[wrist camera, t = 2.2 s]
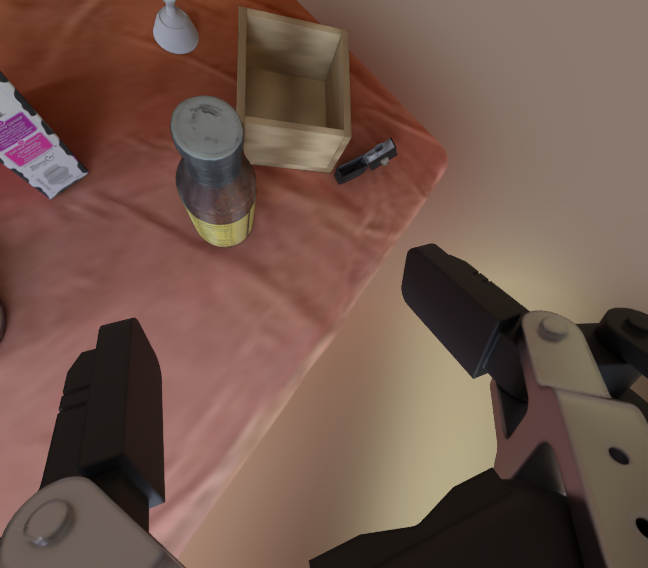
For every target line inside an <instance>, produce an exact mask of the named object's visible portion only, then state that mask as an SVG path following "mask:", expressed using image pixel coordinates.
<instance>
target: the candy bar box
mask: <svg viewBox="0 0 648 568" xmlns="http://www.w3.org/2000/svg"><path fill="white" fill-rule="evenodd" d="M0 162H1V163H2V164H4V165H5V166H6V167H8V168H9V169H10V170H12V171H13V172H14V173H16V174H17V175H18V176H20V177H21V178H22V179H24V180H25V181H26V182H28V183H29V184H30V185H32V186H33V187H34V188H36V189H37V190H39V191H40V192H41V193H43V194H44V195H45V196H46V197H48V198H49V199H52V198H54V197H55V196H57V195H58V194H60V193H61V192H63V191H64V190H65V189H66V188H68V187H70V186H71V185H73V184H74V183H76V182H77V181H79V180H81V179H82V178H83V177H84V176H86V175H87V174H88V173H89V171H88V170H87V169H86V168H85V167H84V166H83V165H82V163H81V162H80V161H79V160H78V159H77V158H76V157H75V155H74V154H73V153H72V152H71V151H70V150H69V149H68V147H67V146H66V145H65V144H64V143H63V142H62V141H61V139H60V138H59V137H58V136H57V135H56V134H55V133H54V132H53V130H52V129H51V128H50V127H49V126H48V125H47V124H46V122H45V121H44V120H43V119H42V118H41V117H40V116H39V114H38V113H37V112H36V111H35V110H34V109H33V108H32V106H31V105H30V104H29V103H28V102H27V101H26V100H25V98H24V97H23V96H22V95H21V94H20V93H19V92H18V91H17V89H16V88H15V87H14V86H13V85H12V84H11V83H10V82H9V80H8V79H7V78H6V77H5V76H4V75H3V74H2V72H1V71H0Z"/></svg>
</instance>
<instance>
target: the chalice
mask: <svg viewBox="0 0 648 568" xmlns="http://www.w3.org/2000/svg"><path fill="white" fill-rule="evenodd" d="M163 1H165V3H166V6H165V7H163V8H161V9H160V11H159V12H158V13H157V16H156V20H155V25H154V28H153V35H154V37H155V40H156V42H157V43H158V44H159V45H160V46H161V47H162V48H163V49H165V50H166V51H169V52H172V53H174V54H185V53H189V52H190V51H192V50H194V49H195V47H196V46H197V45H198V41H199V34H198V32H197V29H196V27H195V26H194V25H193V23H192V21H191V20H190V18H189V16H188V15H187V14H186V13H185V12H184V11H183V10H181V9H180V8H178V7H175V1H176V0H163Z"/></svg>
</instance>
